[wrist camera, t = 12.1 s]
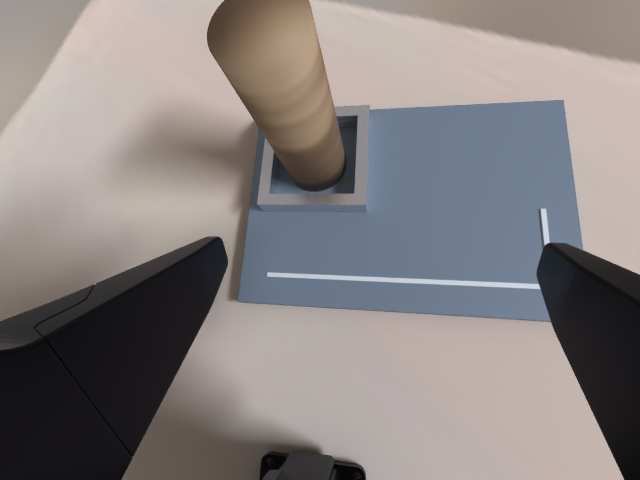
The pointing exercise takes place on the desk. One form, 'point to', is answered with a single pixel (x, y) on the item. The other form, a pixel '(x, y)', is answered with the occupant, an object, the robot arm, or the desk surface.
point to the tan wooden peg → (282, 84)
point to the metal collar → (321, 202)
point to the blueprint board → (426, 217)
